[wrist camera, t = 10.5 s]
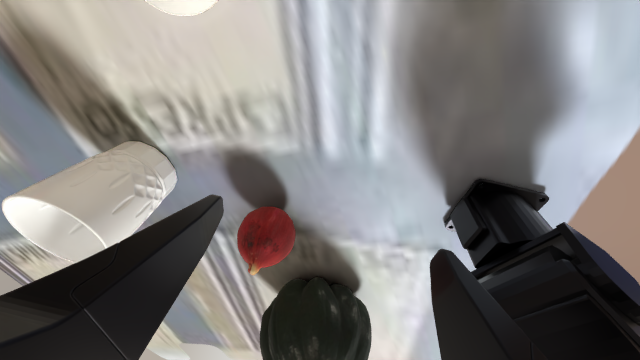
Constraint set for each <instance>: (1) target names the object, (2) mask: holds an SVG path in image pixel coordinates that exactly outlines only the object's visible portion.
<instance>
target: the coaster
mask: <svg viewBox="0 0 640 360" xmlns="http://www.w3.org/2000/svg"><path fill="white" fill-rule="evenodd" d="M145 1H146V2H147V3H149V4H150V5H152V6H153V7H155V8H157V9H159V10H161V11H163V12H166V13H169V14H172V15H178V16H192V15H198V14H201V13H203V12H205V11H207V10H209V9H210V8H212V7H213V6H214V5H215V4H216V3H217V2H218V0H145Z"/></svg>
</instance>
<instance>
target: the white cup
mask: <svg viewBox="0 0 640 360" xmlns="http://www.w3.org/2000/svg"><path fill="white" fill-rule="evenodd" d="M176 182H177V176H176V171H175V168H174V167H173V166H172V164H171V163H170V161H169V160H168V158H167V157H166V156H164V155H163V154H162V153H161V152H159V151H158V150H157V149H156V148H154V147H152V146H149V145H147V144H145V143H142V142H137V141H126V142H124V143H122V144H120V145H118V146H116V147H114V148H112V149H110V150H108V151H106V152H104V153H101V154H97V155H95V156H93V157H90V158H88V159H86V160H84V161H82V162H80V163H78V164H75V165H73V166H70V167H68V168H66V169H64V170H62V171H60V172H58V173H56V174H54V175H52V176H50V177H48V178H46V179H44V180H42V181H40V182H38V183H36V184H33V185H31V186H29V187H27V188H25V189H23V190H21V191H19V192H17V193H15V194H13V195H11V196H9V197H7V198H5V199H4V200H3V202H2V210H3V213H4V215H5V217H6V218H7V220H8V221H9V222H10V224H11V225H12V226H13V227H14V228H15V229H16V230H17V231H18V232H19V233H21V234H22V235H23V236H24V237H25V238H27V239H28V240H29V241H31V242H32V243H34V244H35V245H37V246H38V247H40V248H42V249H44V250H45V251H47V252H49V253H51V254H53V255H55V256H57V257H60V258H62V259H65V260H68V261H70V262H74V263H77V262H79V261H81V260H83V259H86V258H88V257H90V256H92V255H94V254H96V253H98V252H100V251H102V250H104V249H106V248H108V247H110V246H112V245H114V244H116V243H120V241H122V240H124V239H126V238H128V237H129V236H131V235H132V234H133V233H134V232H135V231H136V230H137V229H138V228H139V227H140V226H141V225H142V224H143V223H144V222H145V220H146V219H147V218H148V217H149V216H150V215H151V213H152V212H153V211H154V210H155V209H156V208H157V207H158V206H159V205H160V203H161V202H162V200H163V199H164V198H165V197H166V196H167V195H168V194H169V193H170V192H171V191H172V190H173V189H174V187H175V185H176Z"/></svg>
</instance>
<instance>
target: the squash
mask: <svg viewBox="0 0 640 360" xmlns="http://www.w3.org/2000/svg"><path fill="white" fill-rule="evenodd" d="M260 348H261V354H262V357H263V360H368V356H369V352H370V348H371V323H370V318H369V314H368V311H367V308H366V306H365V305H364V304H363V303H362V301H361V300H359V299H358V298H357V297H355V296H354V295H353V293H352V292H351V290H350V289H349V288H348V287H346V286H343V285H340V284H334V285H331V286H329V285H328V283H327V282H326V281H325V280H324V279H323V278H320V277H314V278H313V279H311V280H310V281H309V282H308V283H307V282H306V281H304V280H301V279H296V280H292V281H290V282H288V283H287V284H286V285H285V286H284V287H283V288H282V289H281V291H280V292H279V294H278V295H277V297H276V298H275V299H274V300H273V301H272V303H271V305H270V306H269V307H268V309H267V310H266V311H265V312H264V314H263V317H262V323H261V331H260Z"/></svg>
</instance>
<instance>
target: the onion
mask: <svg viewBox="0 0 640 360" xmlns="http://www.w3.org/2000/svg"><path fill="white" fill-rule="evenodd" d="M295 233H296V232H295V228H294V225H293V221H292V220H291V218H290V217H289V216H288V214H287V213H286V212H284V211H283V210H281V209H279V208H276V207H260V208H258V209H256V210H254V211H252V212H250V213H249V214H248V215H247V216H246V217H245V218H244V220H243V222H242V224H241V226H240V228H239V230H238V235H237V240H238V249H239V252H240V254H241V256H242V257H243V259H244V260H245V261H246V262H247V263H248V264H249V269H248V272H249V273H250V274H251V275H254V274H256V273H258V271H259V269H260V268H264V267H269V266H272V265H275V264H277V263H279V262H280V261H281V260H283V259H284V258H285V257H286V256H287V255H288V254H289V253H290V252H291V250H292V248H293V245H294V241H295Z"/></svg>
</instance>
